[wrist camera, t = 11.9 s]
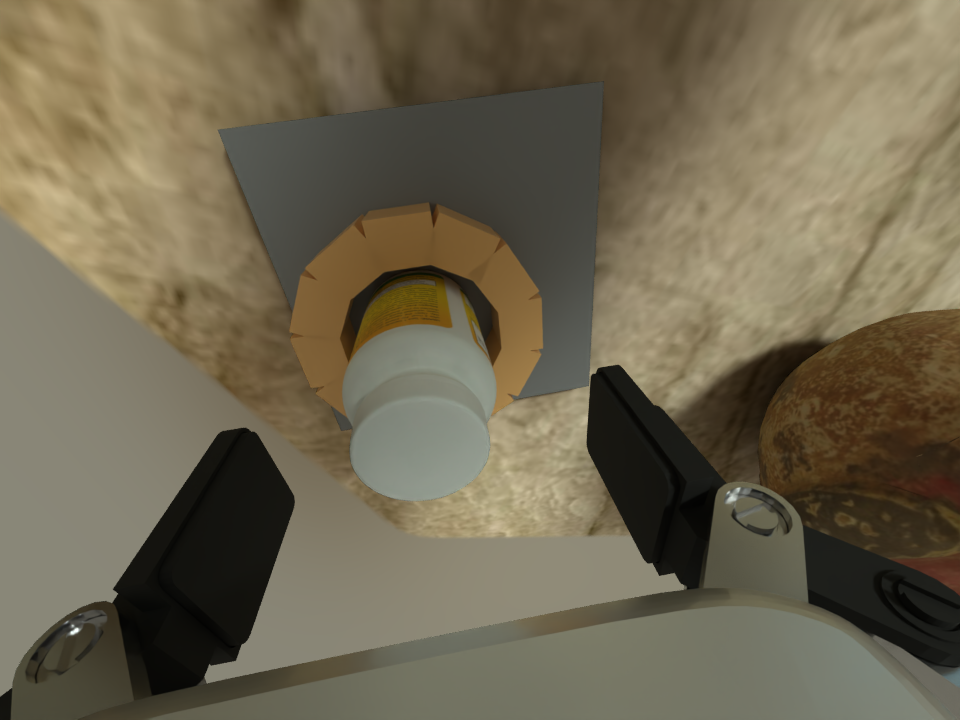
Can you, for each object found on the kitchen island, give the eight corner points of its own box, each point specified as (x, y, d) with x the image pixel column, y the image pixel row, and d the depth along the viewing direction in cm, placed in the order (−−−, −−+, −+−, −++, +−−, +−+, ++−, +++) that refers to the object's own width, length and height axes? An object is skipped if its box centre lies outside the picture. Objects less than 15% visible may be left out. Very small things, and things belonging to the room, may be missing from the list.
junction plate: (593, 84, 16) (603, 81, 15) (582, 377, 23) (588, 386, 22) (229, 130, 15) (217, 129, 14) (344, 419, 22) (341, 430, 21)
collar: (523, 188, 16) (539, 195, 14) (532, 389, 22) (544, 415, 20) (269, 225, 16) (246, 237, 13) (347, 422, 21) (339, 453, 19)
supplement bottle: (493, 305, 19) (553, 428, 11) (435, 379, 21) (448, 535, 12) (401, 243, 17) (387, 340, 8) (345, 333, 18) (289, 484, 10)
